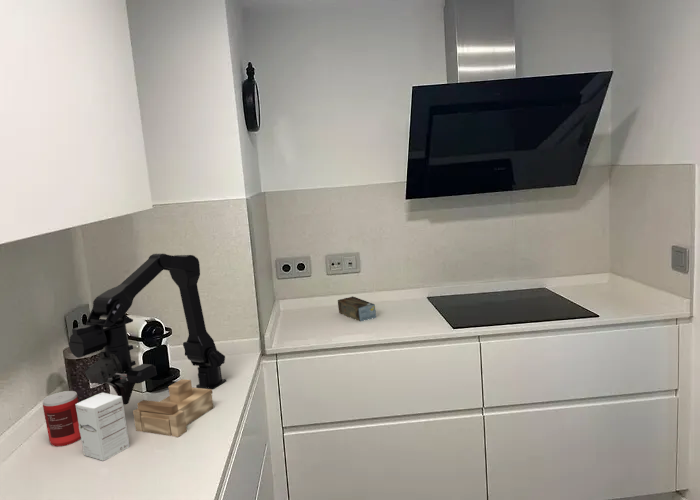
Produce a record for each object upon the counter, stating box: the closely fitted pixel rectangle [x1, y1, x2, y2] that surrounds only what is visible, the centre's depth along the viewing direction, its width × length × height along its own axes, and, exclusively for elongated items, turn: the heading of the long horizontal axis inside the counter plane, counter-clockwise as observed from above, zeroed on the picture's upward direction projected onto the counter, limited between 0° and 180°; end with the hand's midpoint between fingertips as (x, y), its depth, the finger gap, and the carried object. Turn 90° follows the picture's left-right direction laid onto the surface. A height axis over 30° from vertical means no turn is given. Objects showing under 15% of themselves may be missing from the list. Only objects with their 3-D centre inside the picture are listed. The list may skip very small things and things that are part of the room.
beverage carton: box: [337, 296, 377, 322], centre depth 227 cm, size 8×19×7 cm, turn 27°
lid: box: [141, 378, 213, 419], centre depth 141 cm, size 16×9×5 cm, turn 155°
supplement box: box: [75, 392, 130, 462], centre depth 127 cm, size 7×7×13 cm
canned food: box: [42, 390, 81, 447], centre depth 136 cm, size 8×8×11 cm
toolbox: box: [132, 393, 215, 438], centre depth 141 cm, size 16×14×5 cm
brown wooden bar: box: [137, 399, 178, 415], centre depth 135 cm, size 2×11×2 cm, turn 65°
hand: (125, 404), depth 139 cm, fingers closed
